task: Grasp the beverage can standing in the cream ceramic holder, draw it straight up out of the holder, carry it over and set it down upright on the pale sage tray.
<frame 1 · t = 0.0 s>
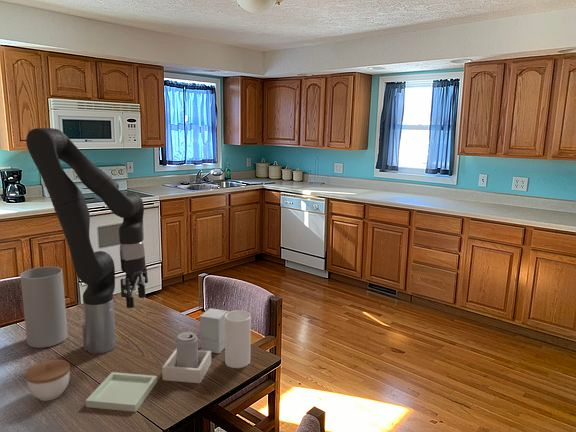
hand: (136, 302, 143), 17 cm above the table, tool pointing down, fingers open, 8 cm apart
cup: (237, 362, 141), on the table
tray: (123, 393, 122), on the table
lidded jar: (50, 394, 121), on the table
beverage can: (187, 371, 134), resting in holder
cylinder vase: (48, 340, 152), on the table
holder: (187, 371, 134), on the table
supplement box: (214, 347, 150), on the table
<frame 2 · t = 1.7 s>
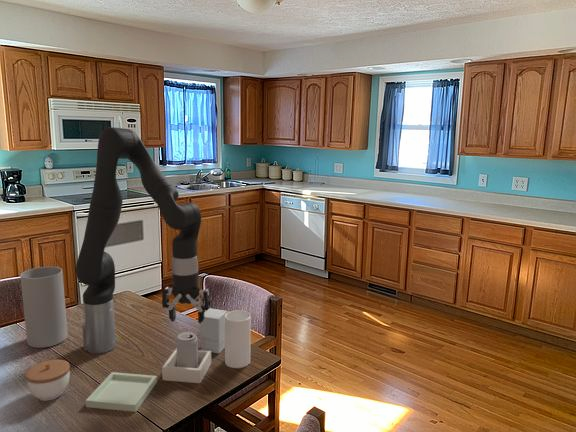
hand: (187, 321, 131), 17 cm above the table, tool pointing down, fingers open, 8 cm apart
nothing on the table moved.
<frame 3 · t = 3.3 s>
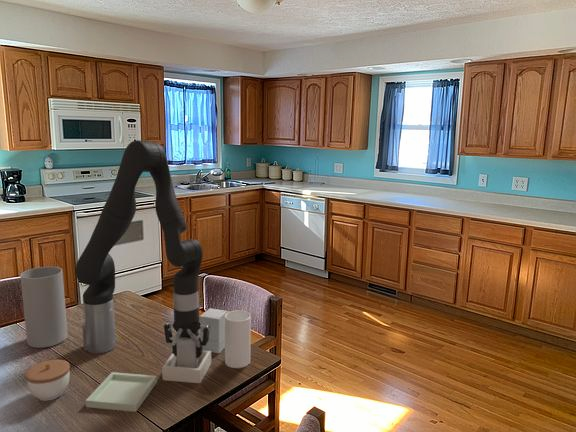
hand: (187, 355, 133), 5 cm above the table, tool pointing down, fingers closed on beverage can, 6 cm apart
beverage can: (187, 371, 135), resting in holder, touching gripper
everything else where it was.
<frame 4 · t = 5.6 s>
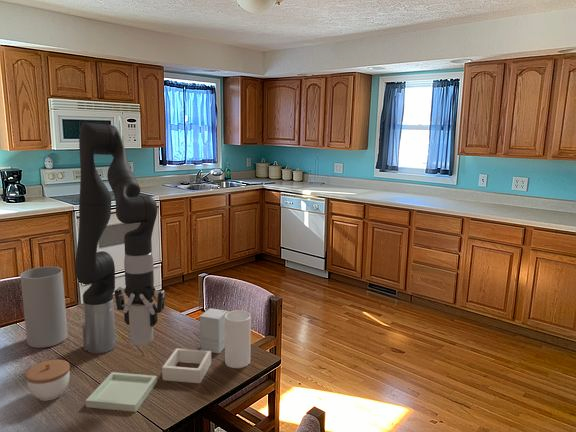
hand: (141, 324, 122), 19 cm above the table, tool pointing down, fingers closed on beverage can, 6 cm apart
beverage can: (141, 342, 123), point 14 cm above the table, touching gripper
everything else where it was.
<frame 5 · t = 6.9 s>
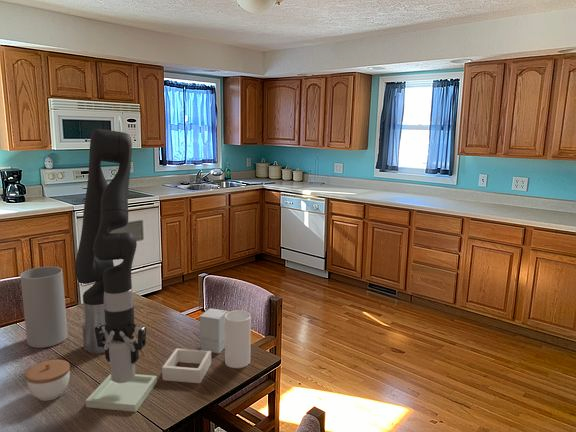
hand: (122, 361, 120), 10 cm above the table, tool pointing down, fingers closed on beverage can, 6 cm apart
beverage can: (123, 379, 121), point 5 cm above the table, touching gripper
everything else where it was.
when the fingers open (7 cm above the table, at t = 8.1 s): beverage can stays where it is, resting on tray.
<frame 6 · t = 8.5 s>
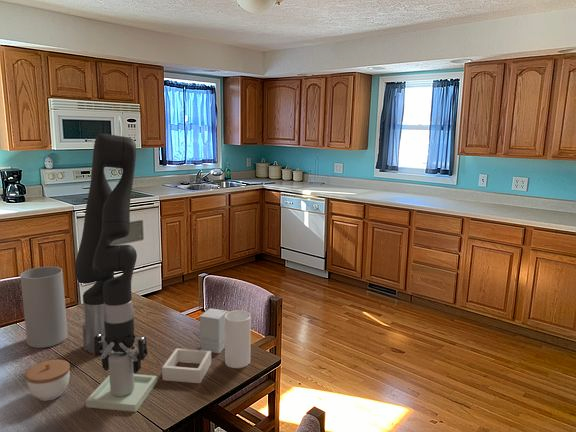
hand: (122, 370, 121), 7 cm above the table, tool pointing down, fingers open, 8 cm apart
beverage can: (122, 392, 122), point 1 cm above the table, touching tray
everything else where it was.
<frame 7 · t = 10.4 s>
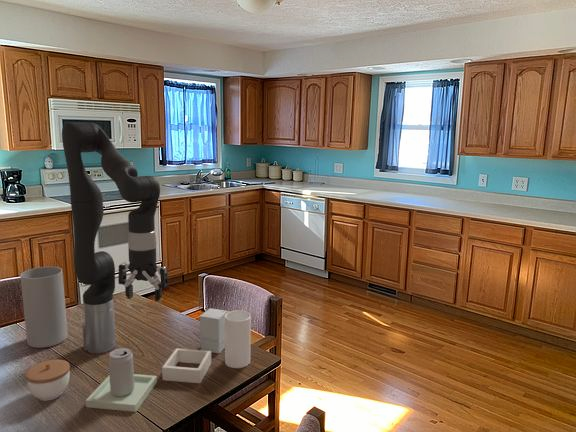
hand: (143, 299, 127), 25 cm above the table, tool pointing down, fingers open, 8 cm apart
nothing on the table moved.
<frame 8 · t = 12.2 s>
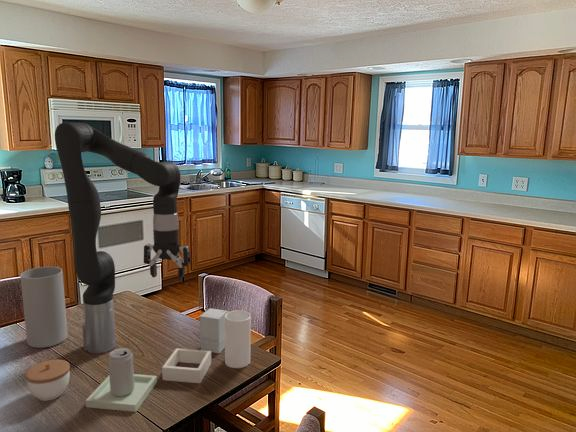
hand: (167, 277, 136), 28 cm above the table, tool pointing down, fingers open, 8 cm apart
nothing on the table moved.
at the end: beverage can inside the target area on the tray (0.1 cm from its centre), point 0.6 cm above the tray's base; beverage can tilted 0°; the gripper is holding nothing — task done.
